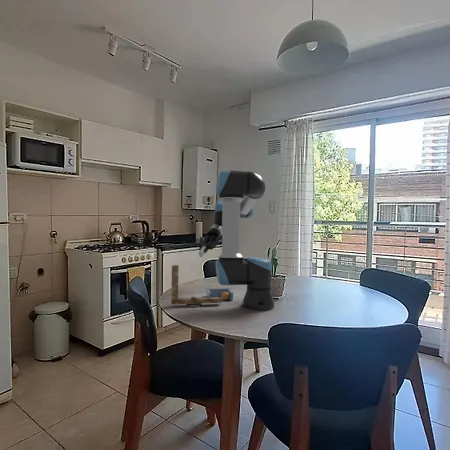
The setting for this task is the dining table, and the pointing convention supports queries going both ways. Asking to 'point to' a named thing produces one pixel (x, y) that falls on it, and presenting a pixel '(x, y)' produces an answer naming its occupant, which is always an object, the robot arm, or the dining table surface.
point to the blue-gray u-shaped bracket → (218, 292)
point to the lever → (187, 300)
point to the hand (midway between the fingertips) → (200, 254)
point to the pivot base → (193, 305)
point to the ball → (225, 295)
